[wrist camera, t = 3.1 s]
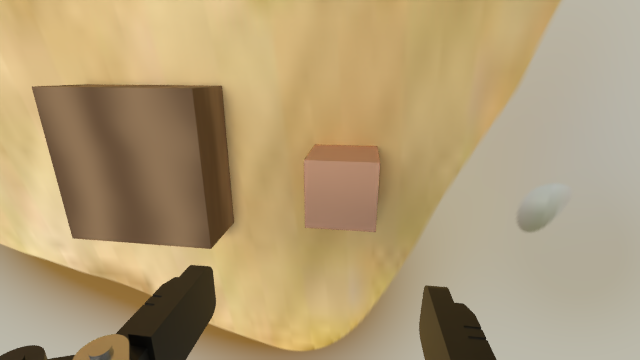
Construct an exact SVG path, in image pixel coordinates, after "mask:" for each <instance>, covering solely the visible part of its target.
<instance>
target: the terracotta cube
mask: <svg viewBox="0 0 640 360" xmlns="http://www.w3.org/2000/svg"><path fill="white" fill-rule="evenodd" d="M379 172H380V159H379V153H378V148H377V146H346V145H314V147H313V148H312V149H311V151H310V152H309V154H308V155H307V157H306V158H305V159H304V188H305V228H321V229H336V230H352V231H368V232H376V219H377V203H378V187H379Z"/></svg>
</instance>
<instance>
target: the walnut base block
mask: <svg viewBox="0 0 640 360" xmlns="http://www.w3.org/2000/svg"><path fill="white" fill-rule="evenodd" d="M32 90H33V93H34V97H35V101H36V104H37V108H38V112H39V116H40V119H41V123H42V127H43V130H44V134H45V138H46V141H47V145H48V149H49V153H50V156H51V160H52V164H53V167H54V171H55V175H56V178H57V182H58V186H59V189H60V193H61V197H62V201H63V204H64V208H65V212H66V215H67V219H68V223H69V226H70V230H71V234H72V237H73V238H76V239H89V240H102V241H115V242H128V243H142V244H155V245H168V246H181V247H194V248H207V249H211V248H212V247H213V246H214V245H215V244H216V242H217V241H218V240H219V239H220V238H221V237H222V236H223V234H224V233H225V232H226V231H227V230H228V229H229V228H230V226H231V225H232V224H233V223H234V217H233V206H232V194H231V183H230V172H229V161H228V149H227V138H226V127H225V116H224V105H223V93H222V86H184V85H62V86H37V87H32Z"/></svg>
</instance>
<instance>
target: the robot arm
mask: <svg viewBox="0 0 640 360" xmlns="http://www.w3.org/2000/svg"><path fill="white" fill-rule="evenodd" d="M215 305H216V297H215V287H214V278H213V270H212V268H211V267H208V266H196V265H190V266H189V267H188V268H187V269H186V270H185V271H184V272H183V273H182V275H181V276H180V277H175V278H173V279H171V280H170V281H168V282H166V283H165V284H163V285H162V286H161V287H160V288H159V289H158V290H157V291H156V292H155V293H154V294H153V296H152V297H150V298H149V299H148V300H147V301H146V302H145V305H143V306H142V307H141V308H140V309H139V310H138V311H137V312H136V313H135V314H134V315H133V316H132V317H131V318H130V320H128V321H127V322H126V323H125V325H124V326H123V327H122V328H121V329H120V330H119V331H118V332H117V333H116V334H111V335H107V336H103V337H100V338H97V339H96V340H93V341H91V342H90V343H88V344H87V345H85V346H84V347H83V348H81V349H80V350H79V351H78V352H77V353H76V355H71V356H65V357H58V358H52V359H47V357H46V353H45V351H44V349H43V348H42V347H40V346H35V345H34V346H33V345H32V346H25V347H20V348H17V349H15V350H12V351H9V352H7V353H5V354H3V355H1V356H0V360H186V358H187V357H188V355H189V353H190V352H191V350H192V349H193V347H194V345H195V344H196V342H197V340H198V339H199V337H200V335H201V334H202V332H203V331H204V329H205V327H206V326H207V324H208V323H209V321H210V319H211V318H212V316H213V313H214V310H215ZM419 331H420V339H421V344H422V348H423V353H424V357H425V360H496V358H495V356H494V354H493V352H492V350H491V347H490V345H489V343H488V341H486V337H485V335H484V333H483V331H482V330H481V326H480V324H479V322H478V320H477V318H476V316H475V314H474V313H473V312H472V311H470V309H469V308H467V306H466V305H464V304H461V303H454V301H453V299H452V296H451V294H450V292H449V289H448V288H447V287H437V286H425V287H424V292H423V299H422V307H421V314H420V323H419Z"/></svg>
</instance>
